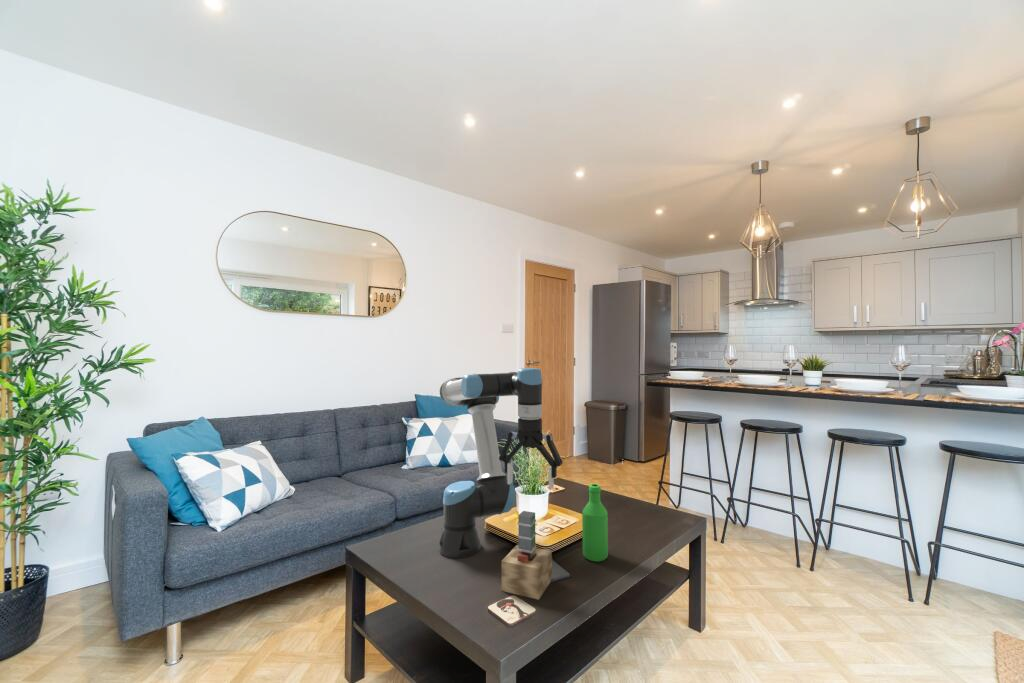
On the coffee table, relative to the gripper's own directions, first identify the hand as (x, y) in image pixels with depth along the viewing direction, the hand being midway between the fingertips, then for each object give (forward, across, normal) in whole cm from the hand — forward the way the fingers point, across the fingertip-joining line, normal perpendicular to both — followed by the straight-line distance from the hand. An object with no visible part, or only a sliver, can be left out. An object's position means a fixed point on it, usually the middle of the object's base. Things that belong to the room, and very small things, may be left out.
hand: (530, 485), depth 138 cm
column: (+30, -1, -1) cm, 31 cm away
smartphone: (+31, +3, +11) cm, 33 cm away
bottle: (+31, +16, +24) cm, 42 cm away
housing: (+30, -1, -1) cm, 31 cm away
